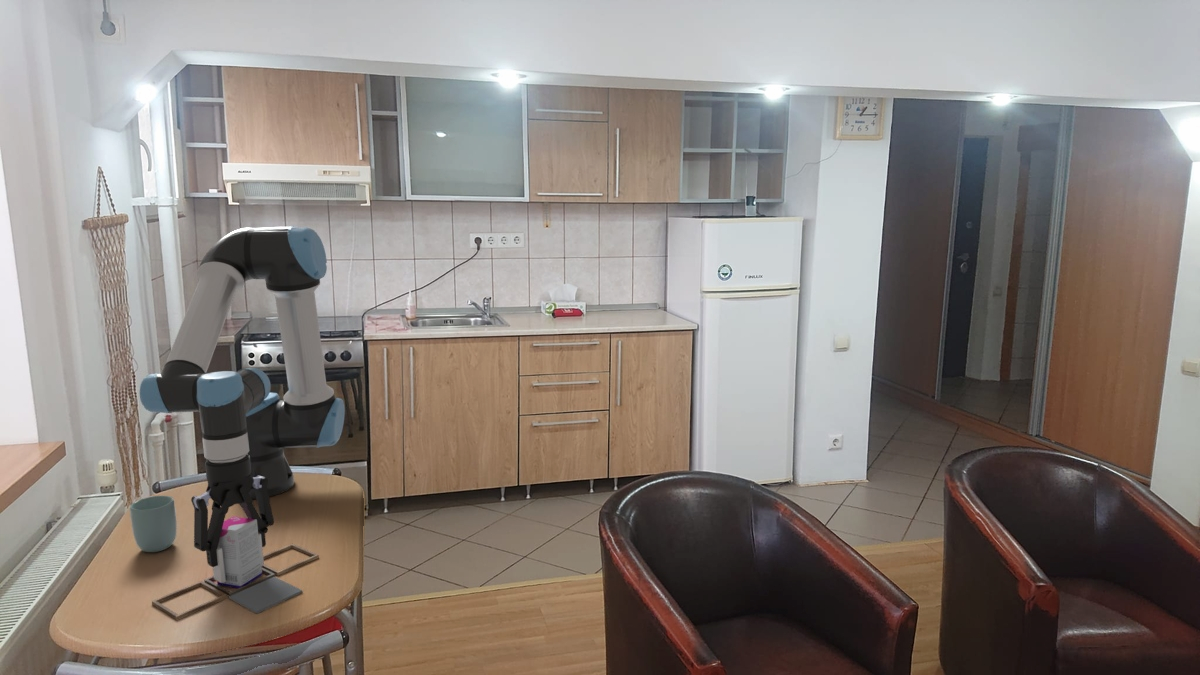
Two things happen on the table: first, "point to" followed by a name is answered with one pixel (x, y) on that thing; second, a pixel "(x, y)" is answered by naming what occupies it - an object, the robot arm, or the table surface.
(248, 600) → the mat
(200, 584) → the frame
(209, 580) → the frame
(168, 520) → the cup
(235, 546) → the supplement box
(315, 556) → the frame
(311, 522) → the table surface
